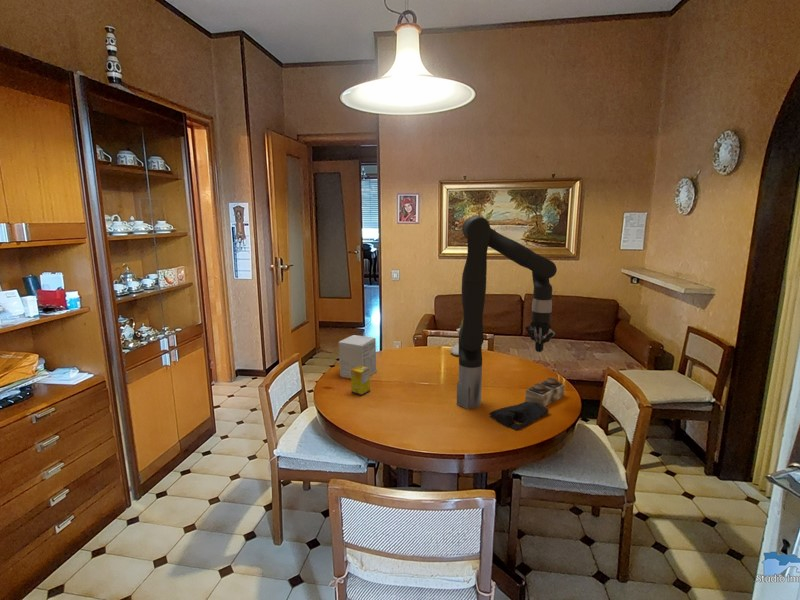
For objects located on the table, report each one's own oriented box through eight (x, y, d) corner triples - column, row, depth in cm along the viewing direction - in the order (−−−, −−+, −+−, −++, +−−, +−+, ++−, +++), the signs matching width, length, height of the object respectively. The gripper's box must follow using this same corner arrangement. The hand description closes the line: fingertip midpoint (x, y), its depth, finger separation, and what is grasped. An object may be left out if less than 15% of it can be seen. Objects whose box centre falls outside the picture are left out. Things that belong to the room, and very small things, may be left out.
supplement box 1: (377, 371, 213) (376, 337, 210) (362, 381, 202) (361, 345, 198) (354, 367, 219) (353, 334, 216) (339, 376, 208) (337, 341, 204)
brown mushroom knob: (552, 397, 180) (553, 383, 179) (542, 394, 184) (543, 379, 183) (559, 394, 183) (560, 380, 182) (548, 391, 187) (549, 376, 186)
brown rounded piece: (540, 404, 175) (541, 389, 173) (530, 400, 178) (531, 385, 177) (547, 400, 178) (548, 386, 176) (536, 397, 181) (537, 382, 180)
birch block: (542, 407, 173) (543, 394, 172) (525, 401, 179) (525, 387, 178) (563, 396, 183) (564, 383, 182) (546, 390, 189) (547, 377, 188)
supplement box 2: (360, 388, 194) (359, 365, 192) (370, 391, 191) (369, 367, 188) (351, 392, 190) (350, 369, 187) (361, 396, 186) (360, 372, 184)
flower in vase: (465, 358, 229) (466, 312, 224) (446, 355, 235) (446, 310, 230) (475, 351, 240) (476, 307, 234) (457, 348, 246) (457, 305, 240)
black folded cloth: (555, 417, 166) (556, 405, 165) (514, 433, 155) (515, 421, 154) (524, 402, 179) (525, 391, 178) (485, 416, 168) (485, 405, 167)
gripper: (521, 308, 174) (519, 349, 178) (551, 314, 164) (548, 357, 168) (532, 305, 178) (530, 345, 182) (562, 311, 168) (559, 353, 172)
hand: (539, 351), depth 175 cm, fingers closed
